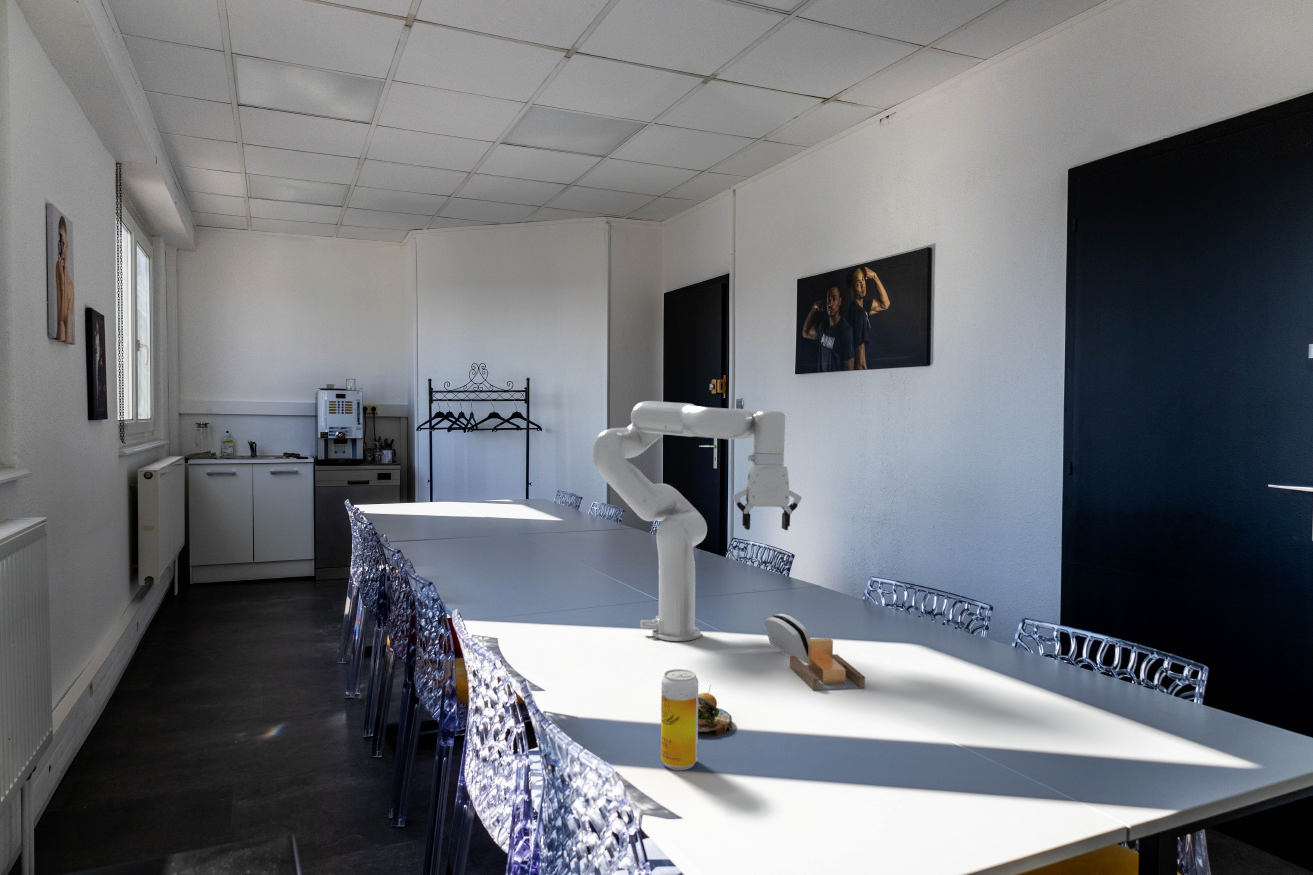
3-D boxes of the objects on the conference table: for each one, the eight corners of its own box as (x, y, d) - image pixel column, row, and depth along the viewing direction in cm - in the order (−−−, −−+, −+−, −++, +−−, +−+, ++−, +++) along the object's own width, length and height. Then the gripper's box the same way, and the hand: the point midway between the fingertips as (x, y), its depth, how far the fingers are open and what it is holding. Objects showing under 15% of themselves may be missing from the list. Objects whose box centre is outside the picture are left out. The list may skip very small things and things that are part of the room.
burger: (659, 719, 155) (659, 680, 154) (714, 710, 159) (714, 673, 159) (685, 742, 144) (686, 701, 143) (744, 732, 148) (744, 692, 148)
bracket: (808, 669, 183) (808, 638, 183) (829, 668, 184) (829, 637, 184) (822, 684, 173) (823, 651, 173) (845, 683, 174) (845, 650, 174)
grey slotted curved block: (823, 659, 192) (811, 621, 190) (806, 668, 190) (795, 630, 189) (786, 640, 207) (775, 605, 206) (771, 648, 206) (759, 613, 204)
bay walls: (813, 690, 170) (813, 678, 170) (789, 666, 186) (789, 655, 186) (864, 688, 172) (864, 676, 172) (836, 664, 188) (837, 654, 188)
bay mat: (819, 690, 171) (819, 688, 171) (794, 666, 186) (795, 664, 186) (858, 688, 172) (858, 686, 172) (831, 664, 188) (831, 663, 188)
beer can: (659, 755, 137) (660, 668, 137) (694, 754, 138) (695, 667, 137) (662, 771, 131) (663, 680, 131) (699, 770, 132) (700, 679, 131)
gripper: (737, 460, 195) (735, 531, 196) (806, 462, 198) (804, 531, 198) (730, 458, 203) (728, 526, 203) (797, 460, 205) (795, 527, 206)
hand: (765, 529), depth 201 cm, fingers open, 9 cm apart
